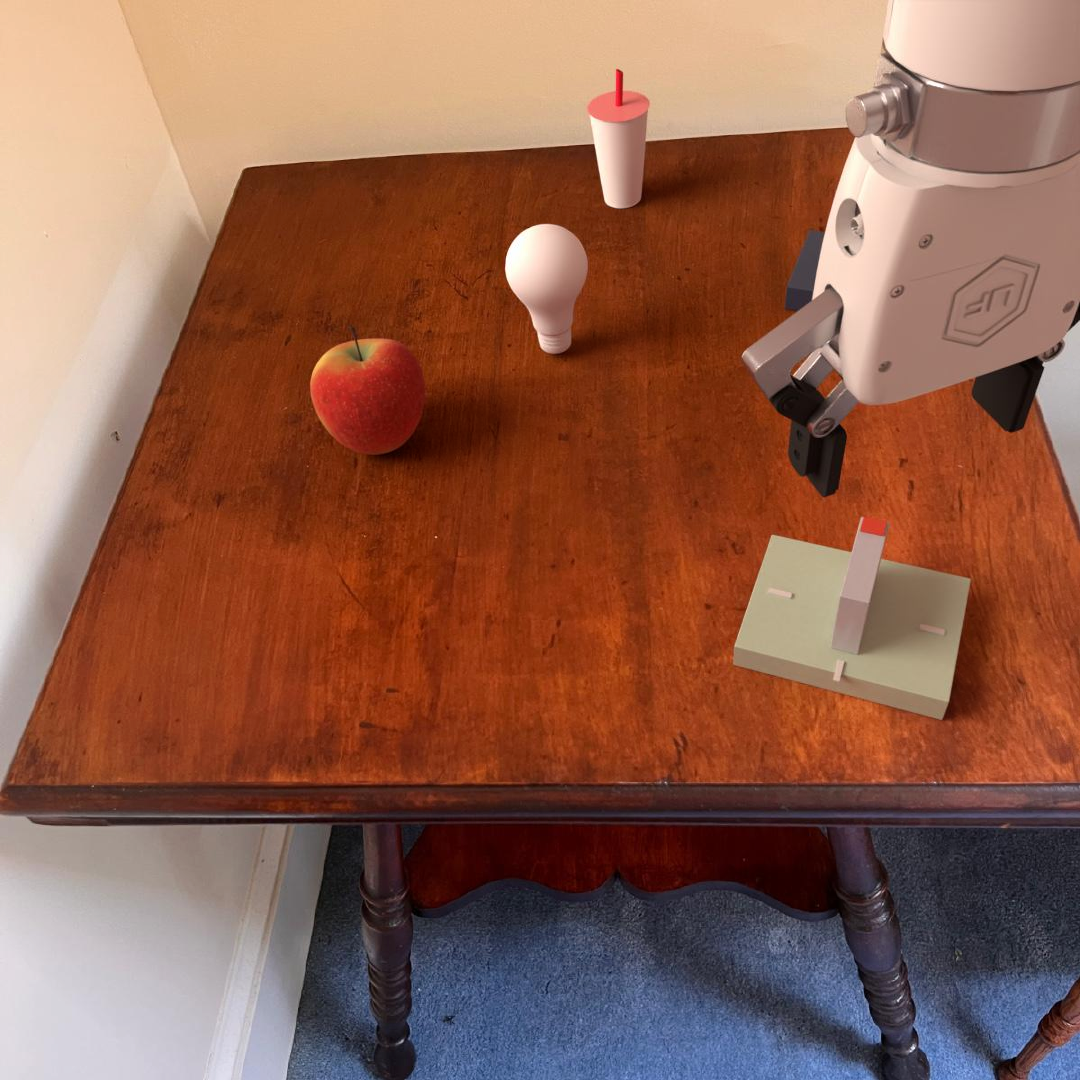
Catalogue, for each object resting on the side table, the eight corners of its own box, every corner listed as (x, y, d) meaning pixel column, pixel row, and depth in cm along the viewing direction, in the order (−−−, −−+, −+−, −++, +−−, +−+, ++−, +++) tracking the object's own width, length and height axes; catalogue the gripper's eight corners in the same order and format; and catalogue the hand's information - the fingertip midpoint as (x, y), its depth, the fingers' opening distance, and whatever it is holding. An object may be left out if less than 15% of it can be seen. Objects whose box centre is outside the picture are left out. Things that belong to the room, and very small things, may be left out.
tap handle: (857, 655, 59) (870, 600, 55) (829, 648, 60) (840, 593, 56) (877, 576, 62) (890, 519, 58) (850, 570, 63) (861, 513, 59)
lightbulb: (551, 387, 80) (535, 266, 71) (503, 351, 83) (483, 232, 75) (610, 350, 82) (602, 229, 74) (561, 316, 85) (548, 197, 77)
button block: (929, 268, 84) (939, 225, 81) (913, 329, 80) (922, 286, 77) (806, 252, 87) (811, 210, 84) (784, 309, 83) (788, 267, 80)
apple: (327, 484, 75) (288, 380, 68) (333, 410, 81) (297, 305, 73) (436, 470, 75) (409, 364, 68) (435, 396, 80) (410, 290, 73)
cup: (652, 181, 97) (649, 53, 88) (651, 213, 94) (647, 84, 85) (595, 183, 98) (587, 57, 89) (591, 215, 94) (582, 87, 85)
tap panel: (965, 591, 64) (973, 569, 62) (940, 729, 58) (948, 709, 56) (772, 547, 67) (774, 525, 66) (730, 673, 62) (731, 652, 60)
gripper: (816, 213, 32) (777, 558, 45) (1280, 74, 35) (1117, 439, 48) (712, 110, 37) (704, 449, 50) (1126, -7, 39) (1016, 345, 52)
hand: (905, 444), depth 49 cm, fingers open, 9 cm apart
